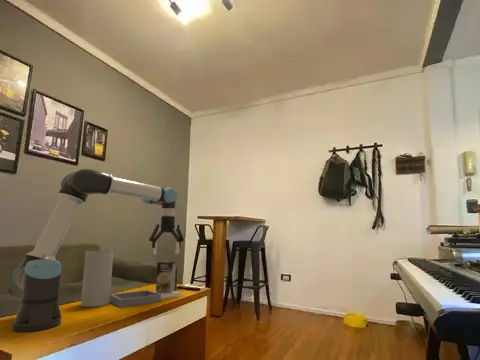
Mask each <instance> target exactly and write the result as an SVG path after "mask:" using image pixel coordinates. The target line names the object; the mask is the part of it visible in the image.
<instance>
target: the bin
mask: <svg viewBox="0 0 480 360" xmlns="http://www.w3.org/2000/svg"><path fill="white" fill-rule="evenodd" d="M161 300H162V299H161V294H158V293H155V292H153V290H149V289H148V290H147V289H145V290H138V291H129V292H128V291H127V292H121V293H113V294H111V293H110V302H109V303H110V304H113V306H116V307H118V308H120V309H121V308H128V307H134V306H140V305H141V306H142V305H148V304H155V303H161Z"/></svg>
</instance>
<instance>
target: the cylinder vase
mask: <svg viewBox="0 0 480 360" xmlns="http://www.w3.org/2000/svg"><path fill="white" fill-rule="evenodd" d="M113 260H114V251H113V250H89V251H88V250H87V251H85V255H84V267H83V280H82V291H81V300H80V301H81V303H80V305H81V307H83V308H100V307H104V306H107V305H109V304H110V303H111V302H110V294H111V289H112V276H113V275H112V274H113V264H114V263H113V262H114V261H113Z"/></svg>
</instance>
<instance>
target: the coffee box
mask: <svg viewBox="0 0 480 360" xmlns="http://www.w3.org/2000/svg"><path fill="white" fill-rule="evenodd" d="M176 267H177V262H176V261H158V262H157V264H156V281H155V282H156V283H155V291H156V293H172V292H174V291H175V270H176Z"/></svg>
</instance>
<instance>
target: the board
mask: <svg viewBox="0 0 480 360" xmlns="http://www.w3.org/2000/svg"><path fill="white" fill-rule="evenodd" d="M152 292H155V293H156V290H155V291H153V290H152ZM158 294H161V300H163V299H170V298H178V297H181V292H180V291H177V290H176V291H174V292H172V293H158Z"/></svg>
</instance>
